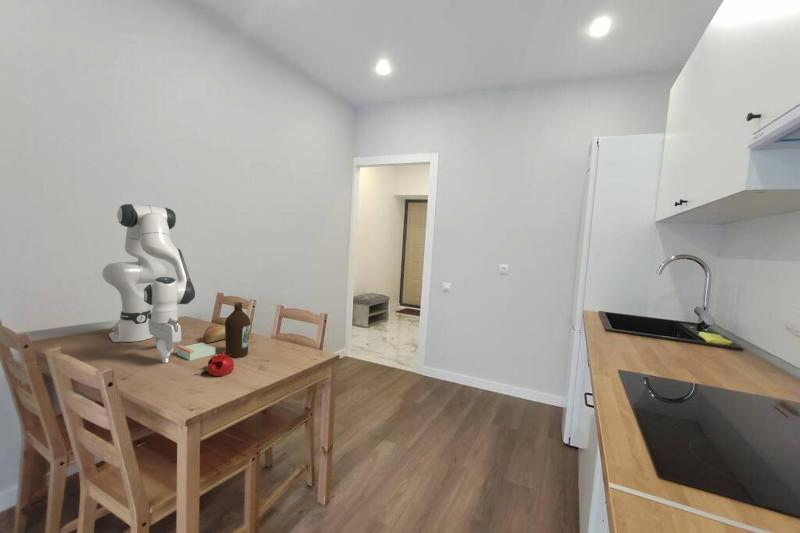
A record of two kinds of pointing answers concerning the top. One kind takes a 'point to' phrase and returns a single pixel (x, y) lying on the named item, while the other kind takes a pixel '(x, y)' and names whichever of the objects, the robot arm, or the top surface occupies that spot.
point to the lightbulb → (163, 350)
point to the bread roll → (214, 333)
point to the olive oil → (237, 332)
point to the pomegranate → (220, 365)
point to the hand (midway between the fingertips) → (164, 349)
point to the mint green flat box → (195, 351)
